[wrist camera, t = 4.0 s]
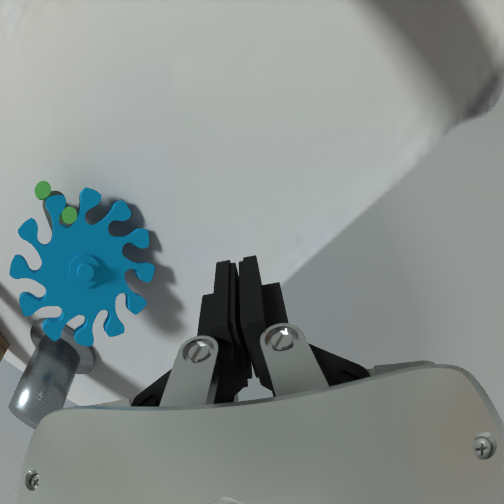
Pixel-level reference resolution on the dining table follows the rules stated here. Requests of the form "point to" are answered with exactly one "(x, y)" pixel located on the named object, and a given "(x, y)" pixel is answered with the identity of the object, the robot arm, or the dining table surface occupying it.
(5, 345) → the brown wooden plank
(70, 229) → the gear
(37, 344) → the post
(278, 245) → the dining table surface
